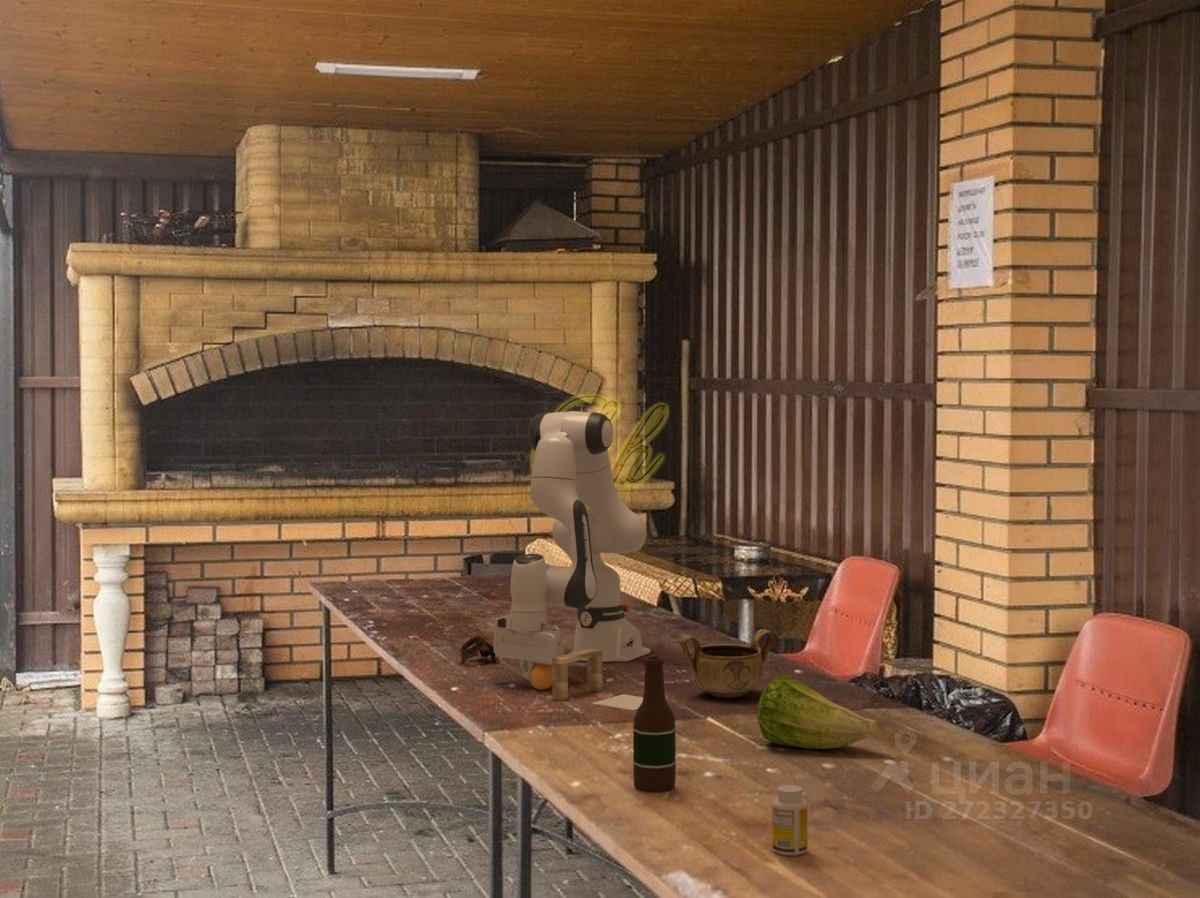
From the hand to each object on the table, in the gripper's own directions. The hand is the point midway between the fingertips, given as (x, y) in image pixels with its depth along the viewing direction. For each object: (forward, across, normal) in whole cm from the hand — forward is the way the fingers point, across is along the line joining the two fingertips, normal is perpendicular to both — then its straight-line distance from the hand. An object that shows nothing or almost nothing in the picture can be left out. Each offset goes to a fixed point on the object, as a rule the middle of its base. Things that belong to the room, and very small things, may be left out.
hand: (528, 679), depth 381 cm
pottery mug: (+2, +32, -17) cm, 36 cm away
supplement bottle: (+4, -119, +70) cm, 138 cm away
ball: (-1, -4, 0) cm, 4 cm away
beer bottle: (+4, -79, +52) cm, 95 cm away
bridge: (+2, -15, -1) cm, 15 cm away
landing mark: (+2, -30, -2) cm, 30 cm away
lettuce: (+3, -87, +8) cm, 87 cm away
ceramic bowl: (+2, -43, -22) cm, 48 cm away
